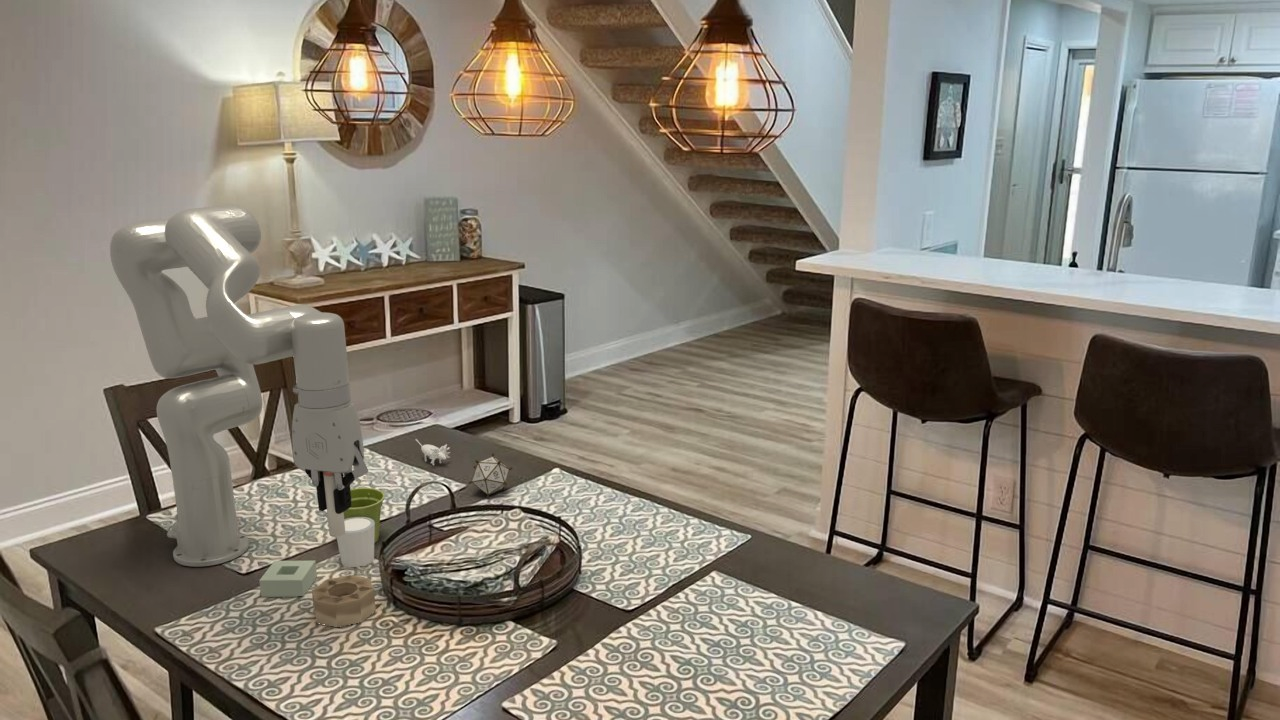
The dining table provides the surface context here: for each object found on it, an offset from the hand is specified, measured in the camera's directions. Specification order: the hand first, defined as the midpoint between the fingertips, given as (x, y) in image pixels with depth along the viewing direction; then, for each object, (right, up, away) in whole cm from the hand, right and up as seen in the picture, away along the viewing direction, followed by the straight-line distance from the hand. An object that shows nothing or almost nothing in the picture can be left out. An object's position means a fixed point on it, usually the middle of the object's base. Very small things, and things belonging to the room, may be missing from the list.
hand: (335, 508), depth 149 cm
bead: (0, -17, +5) cm, 18 cm away
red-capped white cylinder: (0, -4, +1) cm, 4 cm away
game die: (+16, -5, +52) cm, 54 cm away
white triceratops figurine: (0, 0, +70) cm, 70 cm away
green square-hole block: (-12, -15, +13) cm, 23 cm away
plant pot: (-4, -11, +30) cm, 32 cm away
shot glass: (-3, -13, +22) cm, 26 cm away
